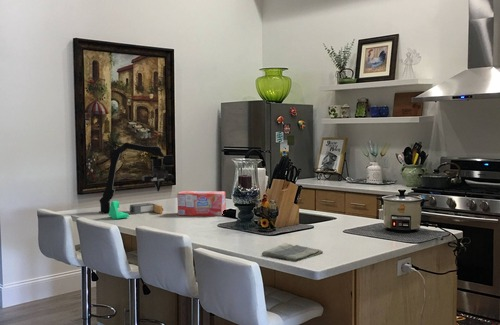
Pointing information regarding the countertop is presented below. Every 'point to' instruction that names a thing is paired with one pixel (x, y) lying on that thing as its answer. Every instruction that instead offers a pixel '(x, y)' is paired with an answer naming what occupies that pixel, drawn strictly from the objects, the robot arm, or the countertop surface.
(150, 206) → the housing
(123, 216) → the camera mount
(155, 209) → the door
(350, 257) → the countertop surface
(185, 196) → the box
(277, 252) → the dish towel
